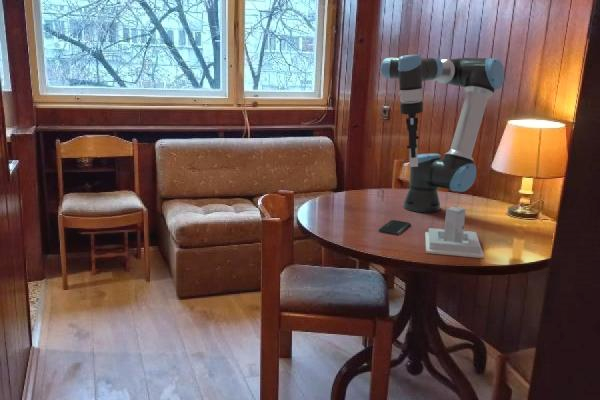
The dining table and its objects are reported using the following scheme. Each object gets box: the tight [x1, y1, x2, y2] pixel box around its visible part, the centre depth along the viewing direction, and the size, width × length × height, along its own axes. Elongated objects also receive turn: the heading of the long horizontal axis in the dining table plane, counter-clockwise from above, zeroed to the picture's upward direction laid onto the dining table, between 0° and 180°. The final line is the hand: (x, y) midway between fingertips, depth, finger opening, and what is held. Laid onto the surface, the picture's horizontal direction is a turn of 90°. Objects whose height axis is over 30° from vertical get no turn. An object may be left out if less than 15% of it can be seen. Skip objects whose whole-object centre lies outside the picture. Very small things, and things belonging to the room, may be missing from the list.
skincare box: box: [443, 206, 466, 242], centre depth 180 cm, size 6×4×12 cm
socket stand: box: [424, 227, 485, 259], centre depth 181 cm, size 20×18×3 cm
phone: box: [378, 219, 411, 236], centre depth 199 cm, size 8×1×15 cm
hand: (413, 161), depth 189 cm, fingers open, 13 cm apart
